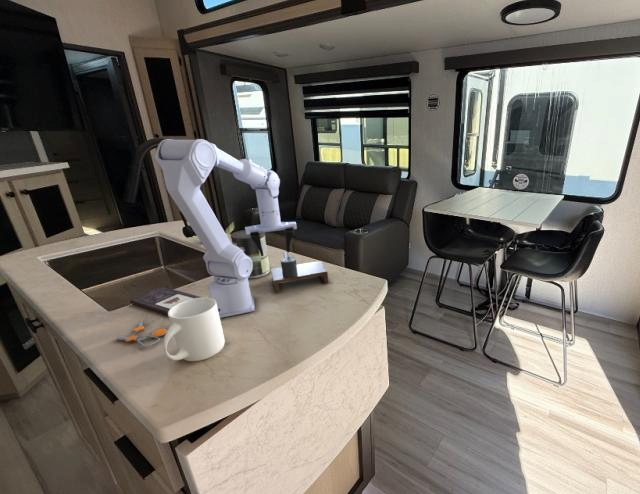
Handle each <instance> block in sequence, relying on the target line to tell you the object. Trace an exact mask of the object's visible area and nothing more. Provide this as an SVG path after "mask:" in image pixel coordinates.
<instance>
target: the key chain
mask: <svg viewBox="0 0 640 494" xmlns="http://www.w3.org/2000/svg"><path fill="white" fill-rule="evenodd" d="M145 328H146V327H145V325H144V320H142V321H139V322H138V324H137V327H135V328H133V331H134V333H133V334H132V335H130V336H117V338H116V340H119V341H125V342H132V341H135V342H137V343H138V344H140V345H141V346H142V347H144V348H148V347H150V346H152V345H155V344H156V343H158V342H159V341H160V340H161V338H160V337H163V336H165V335H166V332H167V331H168V328H159V329H157V330H154V331H152V332H151V333H150V334H144V333H139V334H137V333H138V332H139V331H142V330H144V329H145ZM147 338H148V339H152V338H154V339H157V340H155V341H153V342H152V343H149V344H144V343H143V342H142V341H144V340H146V339H147Z"/></svg>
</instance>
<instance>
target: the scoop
mask: <svg viewBox="0 0 640 494" xmlns="http://www.w3.org/2000/svg"><path fill="white" fill-rule="evenodd" d="M282 254H283V258H281V259H280V267H282V275H283V277H286V278H290V277H294V276H296V275H297V274H298V273H297V265H298V264H297V258H296V257H293V256H289V252H283V253H282Z"/></svg>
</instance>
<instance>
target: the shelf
mask: <svg viewBox="0 0 640 494" xmlns="http://www.w3.org/2000/svg"><path fill="white" fill-rule="evenodd" d="M270 273H271V274H270V275H271V280H272V285H273V289H274V293H275V294H277V293H280V285H279V284H282V283H287V282H292V281H297V280H305V279H310V278H315V277H320V279H321V280H322V282H323V283H324V284H329V276H328V275H329V274H328V271H327V268H326V267H325V265H324V264H323V263H322V261H321V260H318V261H312V262H304V263H299V264H297V273H298V274H297V275H296V276H294V277H290V278H286V277H283V275H282V267H281V266H279V267H273V268H270Z"/></svg>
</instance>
